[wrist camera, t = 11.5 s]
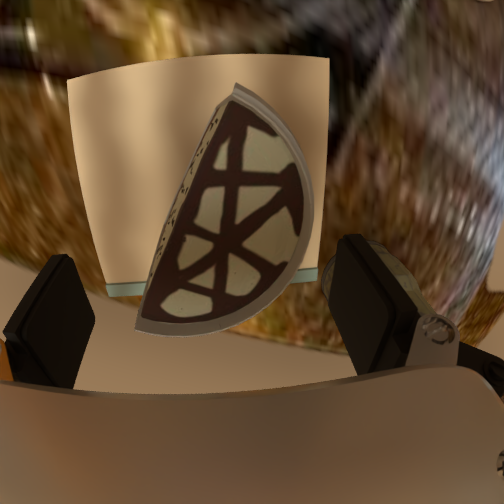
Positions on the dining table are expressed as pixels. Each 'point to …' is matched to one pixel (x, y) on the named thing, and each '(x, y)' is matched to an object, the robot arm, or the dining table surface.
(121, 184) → the dock
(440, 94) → the dining table surface
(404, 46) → the dining table surface
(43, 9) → the dining table surface
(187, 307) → the food container
